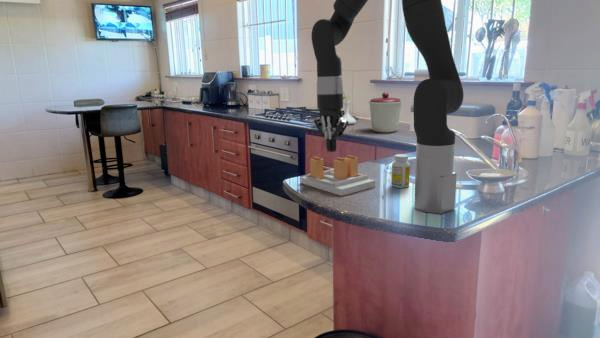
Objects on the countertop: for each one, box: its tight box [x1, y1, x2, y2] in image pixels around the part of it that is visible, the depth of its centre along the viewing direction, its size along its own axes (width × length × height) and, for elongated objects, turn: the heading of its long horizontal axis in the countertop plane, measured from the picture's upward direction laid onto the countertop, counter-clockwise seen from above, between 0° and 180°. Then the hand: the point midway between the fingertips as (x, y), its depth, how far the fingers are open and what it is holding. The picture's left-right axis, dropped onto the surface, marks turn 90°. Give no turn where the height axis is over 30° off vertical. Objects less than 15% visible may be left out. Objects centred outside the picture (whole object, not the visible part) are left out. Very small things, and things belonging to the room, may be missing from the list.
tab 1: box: [309, 155, 325, 179], centre depth 136 cm, size 3×3×7 cm
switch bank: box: [300, 167, 376, 197], centre depth 136 cm, size 19×14×3 cm
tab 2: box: [333, 156, 347, 180], centre depth 134 cm, size 3×3×7 cm
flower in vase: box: [342, 83, 357, 125], centre depth 265 cm, size 13×11×25 cm
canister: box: [368, 92, 403, 134], centre depth 234 cm, size 18×18×21 cm
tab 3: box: [343, 154, 359, 177], centre depth 137 cm, size 3×3×7 cm
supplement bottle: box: [390, 153, 411, 189], centre depth 132 cm, size 5×5×10 cm
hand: (331, 151), depth 129 cm, fingers closed
